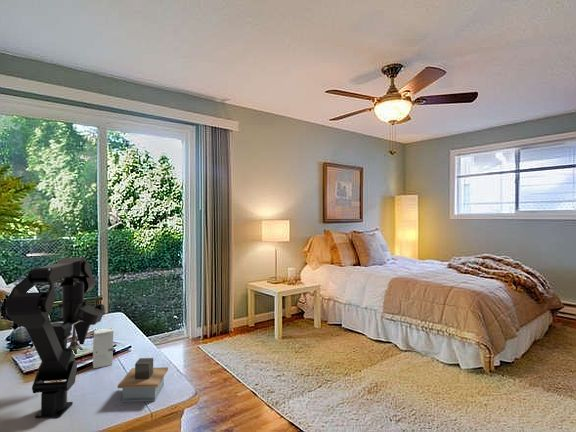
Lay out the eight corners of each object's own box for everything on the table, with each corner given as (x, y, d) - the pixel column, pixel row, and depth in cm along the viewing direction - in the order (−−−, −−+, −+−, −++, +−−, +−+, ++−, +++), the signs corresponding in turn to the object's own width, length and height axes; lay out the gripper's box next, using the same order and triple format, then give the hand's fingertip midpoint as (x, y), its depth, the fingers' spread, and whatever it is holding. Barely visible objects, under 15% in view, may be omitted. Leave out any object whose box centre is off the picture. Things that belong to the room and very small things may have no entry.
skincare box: (93, 369, 120) (93, 333, 119) (92, 364, 123) (92, 330, 123) (113, 364, 123) (113, 330, 123) (111, 360, 127) (112, 327, 127)
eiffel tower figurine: (91, 345, 142) (91, 312, 142) (99, 352, 135) (100, 318, 135) (47, 355, 131) (47, 320, 131) (54, 364, 124) (55, 326, 124)
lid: (157, 387, 99) (157, 368, 99) (117, 388, 98) (117, 369, 98) (168, 369, 110) (168, 353, 110) (132, 370, 109) (132, 353, 109)
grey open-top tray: (154, 401, 100) (155, 385, 100) (122, 402, 99) (122, 386, 99) (163, 385, 109) (163, 371, 109) (134, 386, 108) (134, 371, 108)
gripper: (81, 307, 96) (81, 363, 96) (114, 292, 115) (114, 339, 115) (41, 306, 96) (40, 363, 96) (81, 291, 115) (80, 338, 115)
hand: (72, 349), depth 106 cm, fingers open, 9 cm apart
